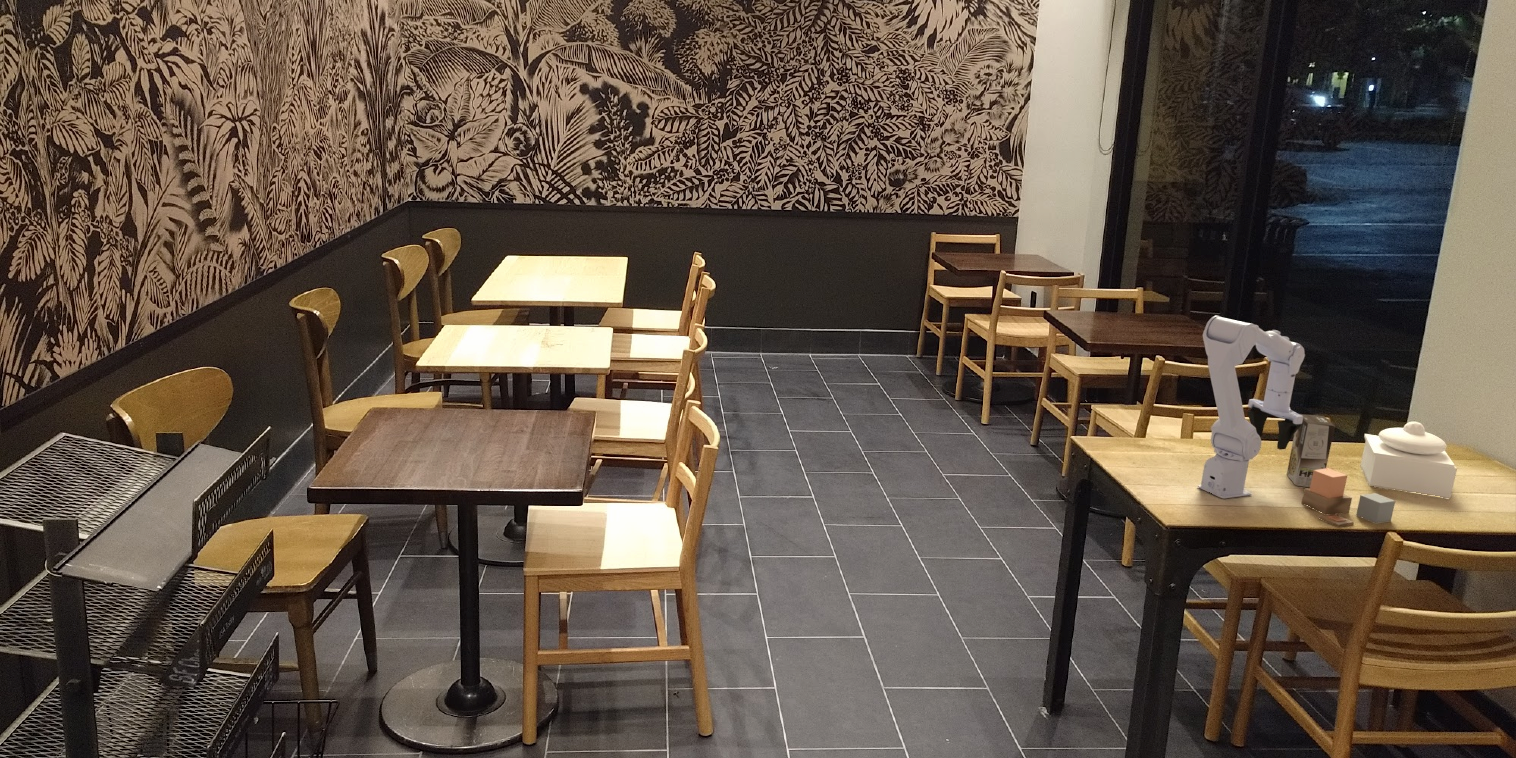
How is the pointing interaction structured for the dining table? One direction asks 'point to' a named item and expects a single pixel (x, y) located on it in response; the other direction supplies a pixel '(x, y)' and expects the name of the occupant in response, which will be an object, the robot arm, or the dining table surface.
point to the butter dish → (1408, 461)
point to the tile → (1336, 520)
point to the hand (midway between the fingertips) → (1268, 443)
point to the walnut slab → (1327, 502)
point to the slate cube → (1375, 508)
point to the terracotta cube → (1328, 483)
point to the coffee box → (1310, 449)
